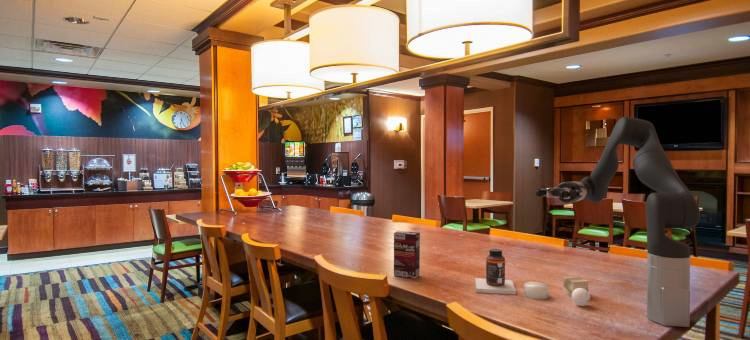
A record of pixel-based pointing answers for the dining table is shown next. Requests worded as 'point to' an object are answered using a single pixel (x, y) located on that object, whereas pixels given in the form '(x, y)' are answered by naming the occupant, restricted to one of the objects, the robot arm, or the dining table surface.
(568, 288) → the maple block
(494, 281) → the supplement bottle
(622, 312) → the dining table surface
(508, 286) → the plate
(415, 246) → the supplement box
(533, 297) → the white rounded puck
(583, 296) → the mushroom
